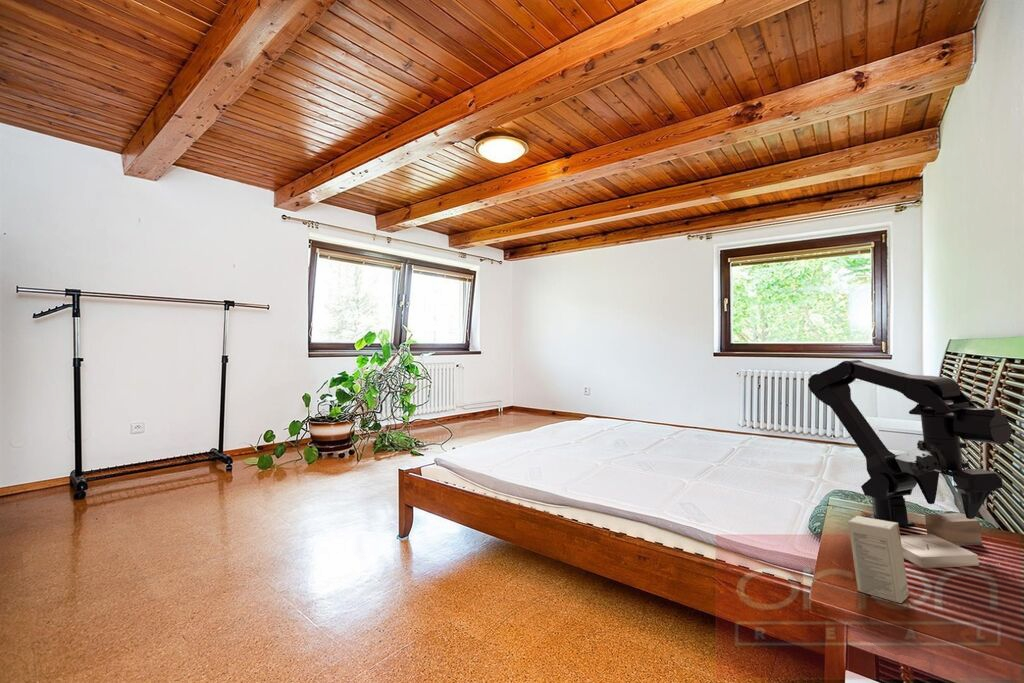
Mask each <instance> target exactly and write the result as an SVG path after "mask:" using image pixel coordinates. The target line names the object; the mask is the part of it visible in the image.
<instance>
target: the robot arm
mask: <svg viewBox="0 0 1024 683" xmlns="http://www.w3.org/2000/svg"><path fill="white" fill-rule="evenodd" d="M856 380H860V381H863V382H867V383H870V384H873V385H877V386H879V387H883V388H886V389H890V390H893V391H896V392H898V393H900V394H901V395H903V396H904V397H905V398H907V399H909V400H910V401H912V402H915V403H916V405H915V406H914V407H913V408H912V409H910V410H909V411H908V414H910V415H917V416H920V419H921V428H922V436H923V438H922V439H923V440H921V439H920V440H918V442H916V443H917V444H916V446H917V448H915V449H911V450H909V451H906V452H904V453H901V454H894V453H893V452H892V451H890V449H888V448H887V447H886V445H885V443H883V441H882V440H881V438H880V437H879V435H878V434H877V433H876V432H875V429H873V427H872V426H871V424H870V423H869V422H868V420H867V419H866V417H865V416H864V415H863V413H862V412H861V411H860V410H859V408H858V407H857V405H856V404H855V402H854V401H853V400H852V393H851V391H852V390H851V387H850V384H852V383H854V382H855V381H856ZM807 388H809V389H808V390H809V391H810V392H811V393H812V394H813V395H814V396H815V398H817V399H818V400H819V401H820V402H821V403H823V404H825V405H826V406H828V407H830V408H831V409H832V411H833V413H834V414H835V415H836V417H837V418H838V420H839V421H840V423H841V424H842V426H843V427H844V428H845V430H846V431H847V433H848V434H849V436H850V437H851V439H852V440H853V442H854V443H855V444H856V446H857V447H858V449H859V450H860V452H861V453H862V454H863V456H864V457H865V461H866V462H865V464H866V471H867V473H868V475H869V479H868V480H867V481H865V482H864V483H863V484H861V486H860V488H861V490H862V492H863V494H864V496H866V497H871V500H872V501H871V502H872V509H873V514H867V516H866V517H868V518H874V519H879V520H885V521H891V522H896V523H898V525H899V527H900V526H902V527H903V526H915V525H916V523H915V522H914V521H912V520H910V519H909V517H908V509H907V506H906V498H905V496H911V495H912V494H913V490H914V489H915V487H916V486H917V485H918V487H919V489H920V490H921V493H922V495H923V497H924V499H925V500H926V504H929V505H935V503H936V499H937V492H938V484H939V480H940V479H939V478H940V474H942V475H945V476H949V477H952V481H953V482H954V484H956V485H952V487H953V488H954V489H955V490H957V491H958V492H959V493H960V496H961V501H962V505H963V506H962V507H963V510H964V515H966V518H968V519H975V518H976V515H977V514H978V513H979V511H980V509H981V507H982V506H983V504H984V502H985V501H986V499H987V498H988V497H989V496H990V494H991V493H992V492H994V491H997V490H998V489H1004V484H1003V477H1002V476H1001V475H999V474H998V473H997V472H994V471H990V470H986V469H981V468H970V463H969V462H966V461H964V460H963V454H962V453H963V452H962V449H967V448H968V445H967V442H963V441H961V439H962V440H964V441H970V442H977V443H984V444H985V443H986V444H995V445H1003V446H1004V445H1006V444H1007V443H1008V442H1009V441H1010V440H1011V438H1012V432H1013V430H1012V424H1010V422H1009V420H1008V418H1006V416H1005V415H1003V414H1002V410H1001V408H995V407H991V408H978V406H977V405H976V404H975V403H974V402H973V401H972V400H971V399H970V398H969V397H968V396H967V395H966V394H965V393H964V392H963V391H962V390H961V388H960V385H958V383H957V381H956V380H954V379H952V378H951V377H945V376H944V377H943V376H936V375H935V376H934V375H922V374H921V375H920V374H919V375H918V374H910V373H906V372H902V371H898V370H894V369H891V368H888V367H884V366H878V365H876V364H872V363H868V362H864V361H862V360H859V359H851V360H844V361H842V362H840V363H838V364H837V365H835V366H833V367H831V368H828V369H826V370H824V371H822V372H820V373H814V374H812V375H810V377H809V380H808V383H807Z"/></svg>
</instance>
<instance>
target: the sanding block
mask: <svg viewBox="0 0 1024 683" xmlns="http://www.w3.org/2000/svg"><path fill="white" fill-rule="evenodd" d="M924 517H925V528H926V534H933V535H935V536H937V537H939V538H942V539H944V540H946V541H948V542H950V543H953V544H955V545H957V546H959V547H963V546H979V545H983V541H982V540H983V539H982V534H981V533H982V532H981V524H980V520H979V519H976V518H974V519H968V518H966V515H965V514H963V513H960V512H953V513H936V514H935V513H933V514H924Z"/></svg>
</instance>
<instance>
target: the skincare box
mask: <svg viewBox="0 0 1024 683" xmlns="http://www.w3.org/2000/svg"><path fill="white" fill-rule="evenodd" d="M847 523H848V531H849V537H850V538H849V539H850V546H851V551H852V559H853V566H854V573H855V579H856V580H855V581H856V586H857V591H858V592H860V593H864V594H867V595H871V596H874V597H877V598H881V599H884V600H887V601H892V602H895V603H899V604H902V603H903V602H904V601H905V600H906V599H907V598H908V597H909V595H910V591H909V587H908V578H907V573H906V566H905V560H904V559H905V558H903V551H902V544H901V538H900V536H901V533H900V526H899V525H898V523H896V522H891V521H885V520H879V519H874V518H868V516H862V515H856V516H854V517H852V518H850V519H849V520H847Z"/></svg>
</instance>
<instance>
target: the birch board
mask: <svg viewBox="0 0 1024 683" xmlns="http://www.w3.org/2000/svg"><path fill="white" fill-rule="evenodd" d="M900 538H901V544H902V551H903V558H904V559H905V560H907V561H909V562H911V563H913V564H914V565H915V566H918V567H920V568H921V569H932V568H933V569H935V568H956V567H957V568H958V567H977V566H980V562H979V555H978V554H976V553H974V552H972V551H970V550H969V549H965V548H964V547H963V546H957V545H955V544H953V543H950V542H948V541H946V540H944V539H942V538H939V537H937V536H935V535H933V534H927V533H926V534H910V535H906V534H905V535H900Z"/></svg>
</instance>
